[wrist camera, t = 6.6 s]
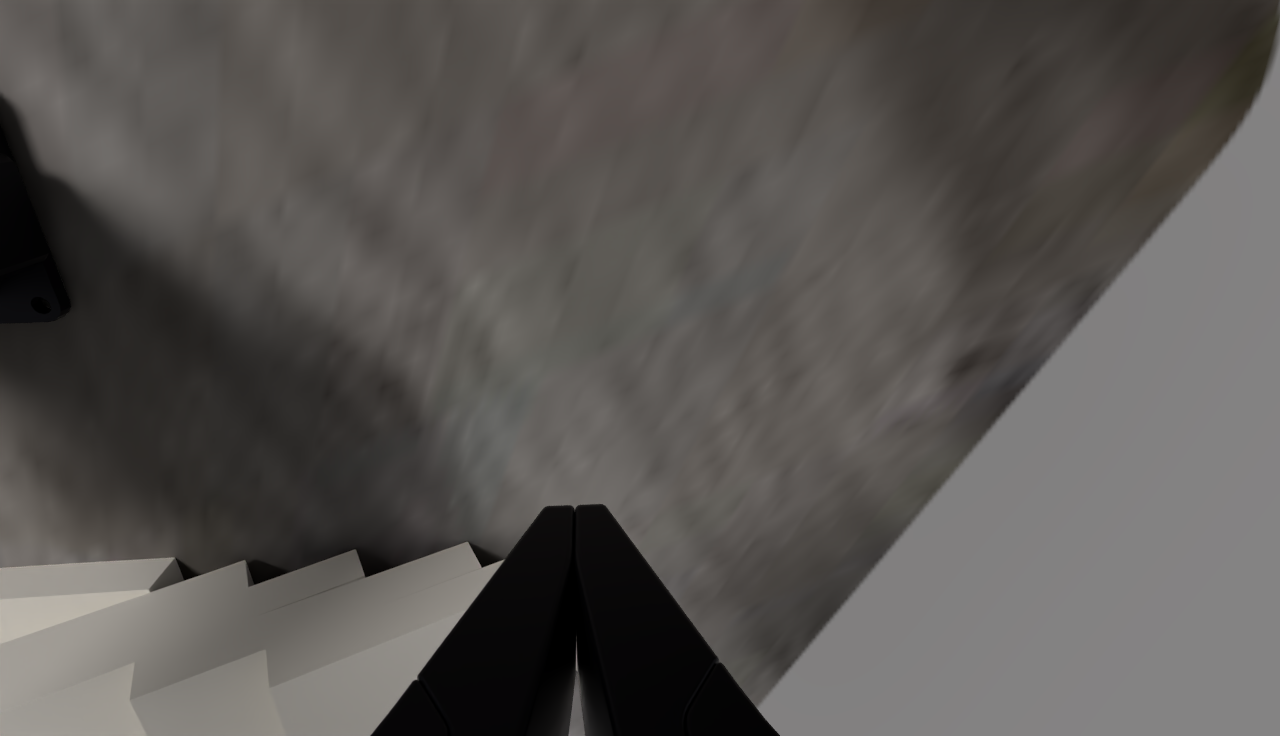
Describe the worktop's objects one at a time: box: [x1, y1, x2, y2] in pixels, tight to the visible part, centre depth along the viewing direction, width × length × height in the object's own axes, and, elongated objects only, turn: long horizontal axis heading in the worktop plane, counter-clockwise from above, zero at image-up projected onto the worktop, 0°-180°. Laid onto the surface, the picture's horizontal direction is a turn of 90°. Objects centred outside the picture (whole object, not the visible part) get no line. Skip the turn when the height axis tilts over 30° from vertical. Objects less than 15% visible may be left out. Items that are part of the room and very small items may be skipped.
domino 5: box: [266, 559, 577, 736], centre depth 22 cm, size 2×5×10 cm
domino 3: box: [0, 549, 365, 736], centre depth 21 cm, size 2×5×10 cm
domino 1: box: [0, 558, 184, 644], centre depth 23 cm, size 2×5×10 cm
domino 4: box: [130, 542, 482, 736], centre depth 22 cm, size 2×5×10 cm
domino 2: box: [0, 560, 254, 676], centre depth 21 cm, size 2×5×10 cm
